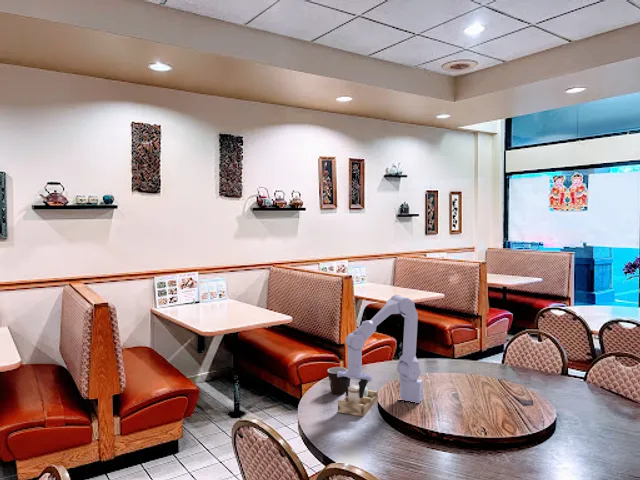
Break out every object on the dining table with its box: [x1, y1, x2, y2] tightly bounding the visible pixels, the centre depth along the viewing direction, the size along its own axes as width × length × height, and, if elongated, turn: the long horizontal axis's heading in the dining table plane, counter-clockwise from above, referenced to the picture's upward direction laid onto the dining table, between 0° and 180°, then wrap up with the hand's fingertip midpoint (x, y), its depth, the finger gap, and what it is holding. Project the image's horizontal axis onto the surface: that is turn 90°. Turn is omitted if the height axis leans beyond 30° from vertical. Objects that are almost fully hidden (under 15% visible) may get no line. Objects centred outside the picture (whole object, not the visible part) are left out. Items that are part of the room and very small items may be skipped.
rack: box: [337, 386, 379, 417], centre depth 204 cm, size 11×17×6 cm, turn 154°
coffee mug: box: [327, 366, 348, 396], centre depth 222 cm, size 12×9×10 cm
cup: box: [348, 384, 361, 403], centre depth 200 cm, size 5×5×6 cm
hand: (354, 396), depth 200 cm, fingers closed on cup, 5 cm apart
